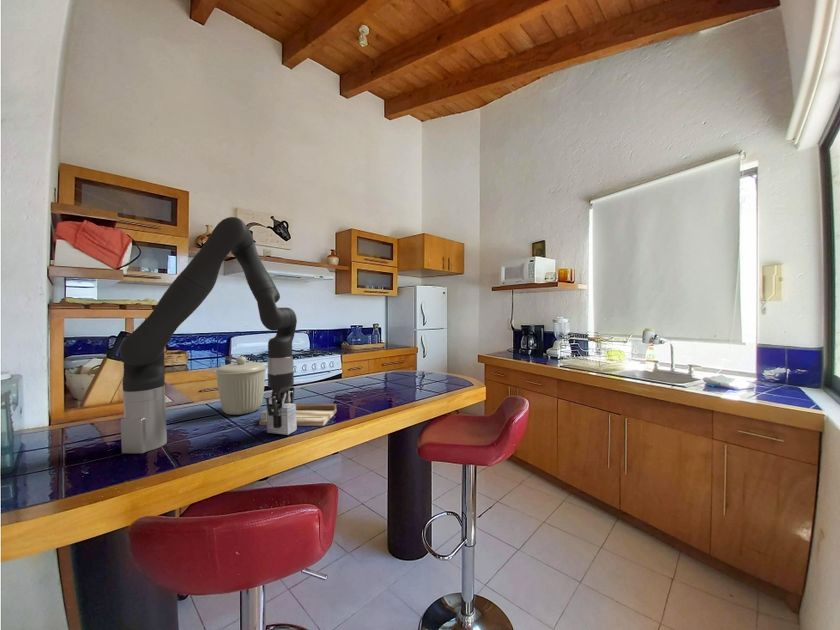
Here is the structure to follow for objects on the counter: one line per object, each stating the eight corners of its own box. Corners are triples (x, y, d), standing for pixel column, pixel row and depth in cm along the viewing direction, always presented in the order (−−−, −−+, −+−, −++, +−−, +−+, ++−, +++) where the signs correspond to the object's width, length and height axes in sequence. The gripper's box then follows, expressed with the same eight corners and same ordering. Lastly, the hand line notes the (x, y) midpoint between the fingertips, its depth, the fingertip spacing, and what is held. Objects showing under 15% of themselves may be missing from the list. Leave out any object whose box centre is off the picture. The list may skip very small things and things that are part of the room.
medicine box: (297, 430, 104) (296, 403, 104) (287, 435, 100) (287, 407, 100) (276, 428, 106) (275, 401, 106) (266, 433, 102) (265, 405, 102)
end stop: (266, 420, 111) (266, 412, 111) (260, 420, 111) (260, 412, 111) (280, 410, 121) (280, 403, 121) (275, 410, 121) (275, 403, 121)
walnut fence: (334, 410, 120) (334, 405, 120) (276, 410, 121) (275, 405, 121) (336, 408, 123) (336, 403, 123) (279, 407, 124) (279, 403, 124)
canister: (219, 422, 113) (217, 362, 112) (211, 410, 127) (210, 356, 126) (274, 411, 124) (272, 356, 124) (262, 401, 138) (260, 351, 138)
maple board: (323, 425, 109) (323, 421, 109) (259, 425, 110) (259, 420, 110) (336, 412, 123) (336, 407, 123) (279, 411, 124) (279, 407, 124)
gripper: (280, 366, 110) (281, 416, 110) (256, 375, 96) (257, 432, 96) (301, 366, 109) (302, 416, 110) (281, 375, 95) (282, 433, 96)
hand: (281, 424), depth 103 cm, fingers closed on medicine box, 5 cm apart
